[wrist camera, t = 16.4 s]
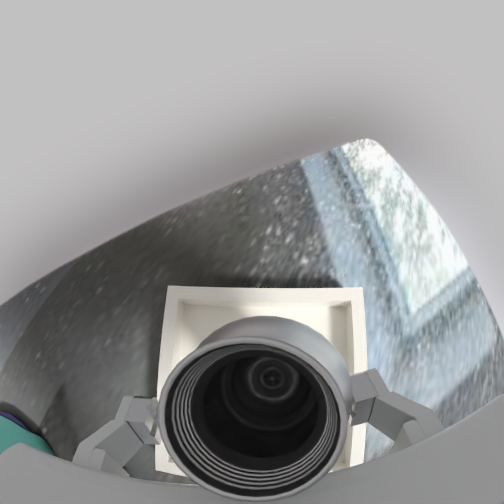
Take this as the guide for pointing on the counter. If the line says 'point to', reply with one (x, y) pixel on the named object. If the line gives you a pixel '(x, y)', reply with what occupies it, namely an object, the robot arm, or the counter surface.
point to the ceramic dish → (265, 304)
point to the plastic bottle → (257, 409)
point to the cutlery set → (19, 434)
